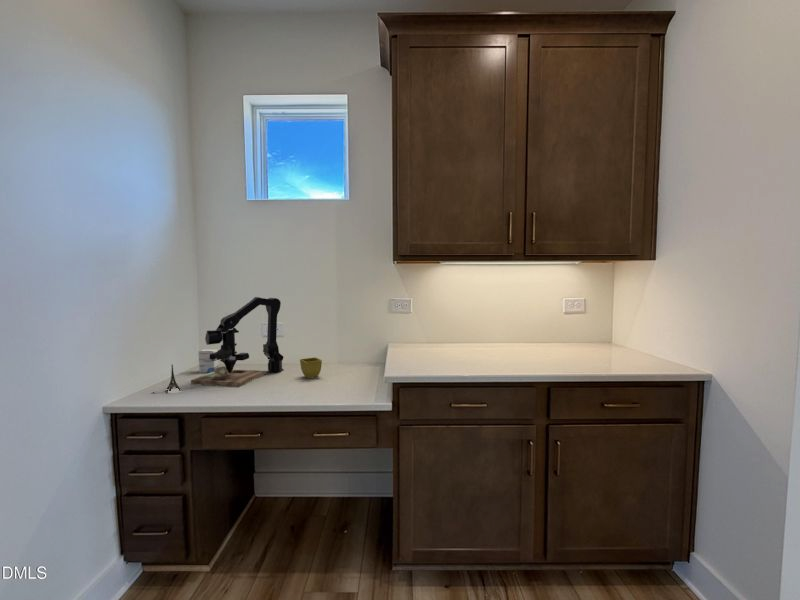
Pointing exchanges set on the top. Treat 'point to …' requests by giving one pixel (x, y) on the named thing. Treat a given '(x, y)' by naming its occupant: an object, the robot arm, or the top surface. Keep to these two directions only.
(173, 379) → the eiffel tower figurine
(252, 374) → the board
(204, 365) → the ink box
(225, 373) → the maple block
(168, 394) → the top surface
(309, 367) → the flower pot
